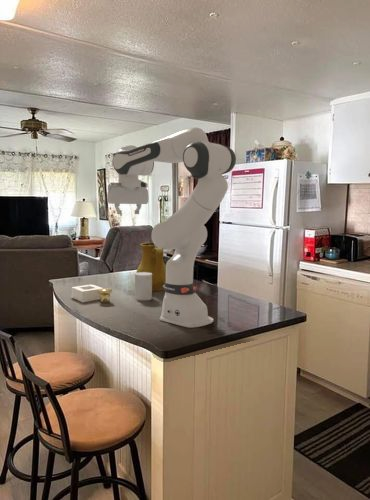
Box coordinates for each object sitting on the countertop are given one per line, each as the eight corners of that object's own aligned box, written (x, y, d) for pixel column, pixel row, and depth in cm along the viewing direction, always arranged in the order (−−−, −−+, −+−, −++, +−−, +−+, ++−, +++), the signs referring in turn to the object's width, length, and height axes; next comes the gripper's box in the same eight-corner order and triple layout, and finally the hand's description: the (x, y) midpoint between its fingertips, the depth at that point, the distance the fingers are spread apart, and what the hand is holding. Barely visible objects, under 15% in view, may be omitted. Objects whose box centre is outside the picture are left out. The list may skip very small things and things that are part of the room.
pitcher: (171, 285, 219) (170, 240, 215) (166, 294, 201) (165, 246, 196) (140, 284, 221) (139, 240, 216) (133, 294, 202) (131, 246, 198)
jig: (103, 298, 188) (103, 288, 187) (82, 302, 181) (82, 291, 180) (92, 294, 196) (92, 284, 195) (71, 297, 189) (71, 287, 188)
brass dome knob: (114, 302, 182) (114, 290, 181) (102, 304, 178) (102, 292, 177) (107, 299, 187) (107, 287, 186) (95, 301, 182) (95, 289, 182)
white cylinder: (148, 300, 186) (149, 275, 184) (132, 299, 187) (132, 274, 186) (153, 296, 194) (154, 272, 192) (137, 295, 195) (138, 271, 194)
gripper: (111, 182, 168) (111, 214, 170) (150, 184, 181) (150, 214, 183) (104, 182, 173) (104, 213, 175) (142, 184, 186) (142, 213, 188)
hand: (128, 214), depth 179 cm, fingers open, 8 cm apart
